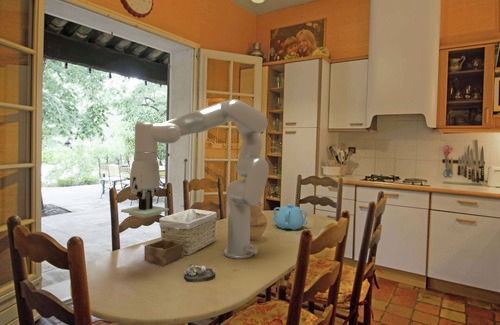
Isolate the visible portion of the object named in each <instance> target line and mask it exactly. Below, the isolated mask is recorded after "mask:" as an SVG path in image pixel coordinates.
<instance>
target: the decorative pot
mask: <svg viewBox="0 0 500 325" xmlns="http://www.w3.org/2000/svg"><path fill="white" fill-rule="evenodd" d="M276 210H278V212H276ZM302 212H304V215H303V213H302ZM273 215H274V216H273V217H272V222H274V223H275V224H276V226H277V227H278V228H280V229H281V230H286V229H290V230H292V231H297V230H298V229H301V228H302V226H303V225H304V226H305V225H307V224H308V220H306V218H307V215H308V212H307V210H305V209H303V208H300V207H299V206H294V204H293V203H287V205H283V206H281V207H279V206H278V207H277V206H276V207H274V209H273Z"/></svg>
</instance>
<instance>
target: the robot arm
mask: <svg viewBox="0 0 500 325" xmlns="http://www.w3.org/2000/svg"><path fill="white" fill-rule="evenodd" d="M232 122H235V128H236V130H237V131H238V132H239V134H240V136H241V141H242V143H241V148H240V152H239V156H238V158H237V162H236V165H235V166H236V167H235V171H236V173H237V175H238V176H239V177H241V178H245V180H242V179H236V180H232V181H230V183H228V185H227V187H226V191H225V192H226V195H225V196H226V199H227V200H226V202H227V248H225V249H224V250H223V255H224V256H225V257H226V258H227V257H228V258H230V259H238V260H240V259H241V260H242V259H247V258H251V257H252V256H253V255H257V254H258V248H257V247H253V243H250V242H251V214H252V213H251V207H254V206H257V205H258V204H260V202H261V200H262V198H263V197H264V193H265V188H266V186H267V181H268V178H269V174H270V167H269V166H270V165H269V163H268V161H267V160H266V159H265V158H264V157H262V156H261V152H262V147H263V142H262V138H261V135H260V134H261V133H263V132H265V131H266V130H267V128H268V125H269V124H268V123H269V120H268V118H267V116H266V114H264V113H263V112H262V111H260V110H258V109H257V108H255V107H253V106H251V105H249V104H248V103H246V102H243V101H242V100H239V99H235V98H233V99H232V98H231V99H229V100H224V101H220V102H217V103H214V104H211V105H208V106H206V107H203V108H200V109H197V110H194V111H192V112H189V113H186V114H184V115H181V116H178V117H174V118H172V119H169V120H166V121H163V122H160V123H159V122H157V123H155V122H151V121H138V122H136V123H135V126H134V161H132V163H131V168H130V176H129V177H130V178H129V189H130V194H134V195H135V196H136V197H137V199H138V206H139V209H140V210H146V199H145V192H150V209H152V208H153V206H154V205H153V204H154V202H153V201H154V198H155V194H156V193H157V191H159V190H160V189H161V187H160V183H161V180H160V179H161V175H160V166H159V161H158V157H159V154H158V143H159V144H170V145H171V144H174V143H176V142H179V140H180V138H181V137H183V136H187V135H192V134H199V133H203V132H206V131H209V130H211V129H214V128H216V127H219V126H222V125H225V124H227V123H232ZM141 192H142V193H141Z"/></svg>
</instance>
